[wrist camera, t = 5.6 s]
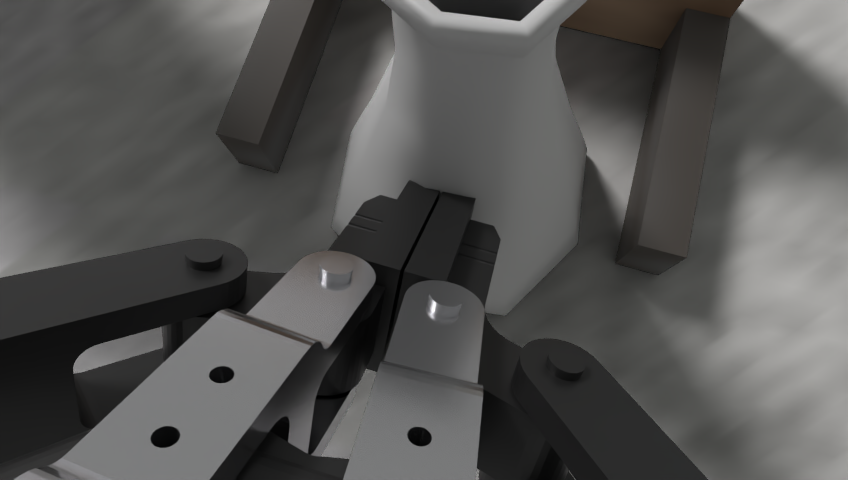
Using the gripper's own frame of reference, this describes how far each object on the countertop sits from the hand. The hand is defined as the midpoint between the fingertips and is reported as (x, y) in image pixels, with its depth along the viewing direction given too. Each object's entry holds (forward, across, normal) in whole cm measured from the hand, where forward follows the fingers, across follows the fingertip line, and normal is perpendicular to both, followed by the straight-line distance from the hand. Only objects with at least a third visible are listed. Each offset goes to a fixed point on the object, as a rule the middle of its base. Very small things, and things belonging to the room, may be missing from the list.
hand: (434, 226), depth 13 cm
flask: (+5, 0, +1) cm, 5 cm away
